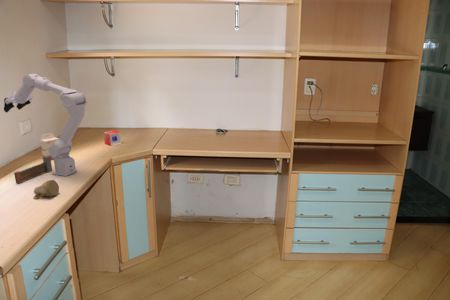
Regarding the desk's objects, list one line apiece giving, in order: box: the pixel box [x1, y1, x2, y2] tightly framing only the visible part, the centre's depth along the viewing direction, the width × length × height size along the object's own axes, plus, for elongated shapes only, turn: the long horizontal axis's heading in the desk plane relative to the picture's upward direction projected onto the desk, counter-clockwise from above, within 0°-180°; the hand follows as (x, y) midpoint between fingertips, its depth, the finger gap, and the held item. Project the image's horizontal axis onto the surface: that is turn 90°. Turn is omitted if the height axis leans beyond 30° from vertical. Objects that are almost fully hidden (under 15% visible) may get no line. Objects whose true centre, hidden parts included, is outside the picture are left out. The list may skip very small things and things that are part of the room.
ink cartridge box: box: [39, 132, 59, 161], centre depth 206 cm, size 9×5×15 cm, turn 141°
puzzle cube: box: [103, 129, 123, 147], centre depth 237 cm, size 8×8×8 cm
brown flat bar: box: [13, 161, 48, 184], centre depth 178 cm, size 1×17×5 cm, turn 159°
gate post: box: [41, 156, 53, 173], centre depth 187 cm, size 3×3×8 cm
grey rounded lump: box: [33, 179, 60, 200], centre depth 157 cm, size 8×10×10 cm
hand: (11, 109), depth 186 cm, fingers open, 7 cm apart
